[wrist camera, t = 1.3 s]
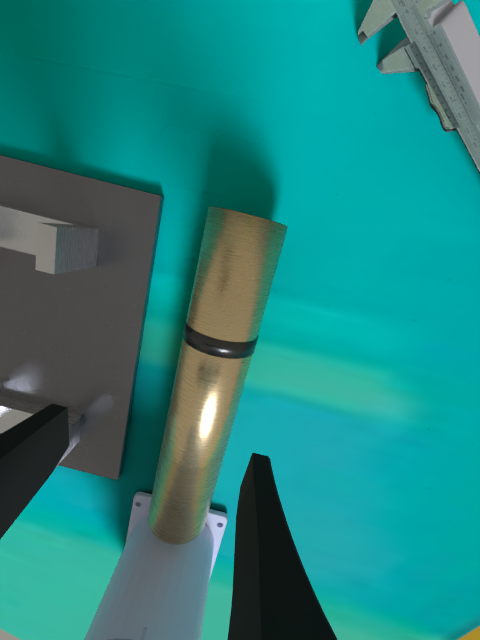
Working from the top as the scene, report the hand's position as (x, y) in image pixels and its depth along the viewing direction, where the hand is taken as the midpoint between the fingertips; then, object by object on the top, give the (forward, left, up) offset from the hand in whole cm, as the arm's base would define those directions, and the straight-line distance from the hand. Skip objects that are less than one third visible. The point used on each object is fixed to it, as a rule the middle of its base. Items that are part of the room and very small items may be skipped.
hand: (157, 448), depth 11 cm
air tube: (-2, 0, -10) cm, 10 cm away
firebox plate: (-2, +12, -10) cm, 16 cm away
